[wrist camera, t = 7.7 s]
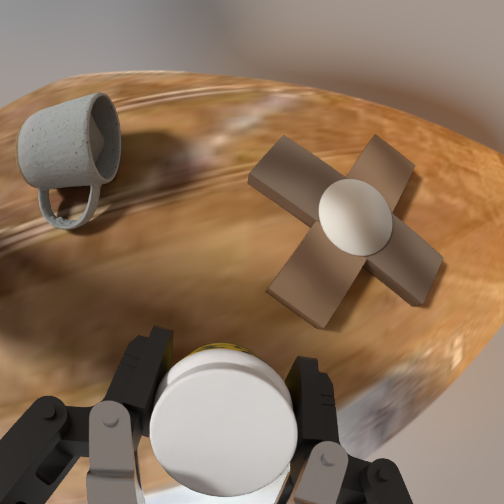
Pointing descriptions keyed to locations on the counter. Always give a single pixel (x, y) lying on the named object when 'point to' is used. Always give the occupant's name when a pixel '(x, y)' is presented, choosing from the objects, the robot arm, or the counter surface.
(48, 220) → the ceramic mug
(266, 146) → the counter surface
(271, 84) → the counter surface
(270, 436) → the supplement bottle
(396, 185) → the walnut cross joint
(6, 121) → the counter surface
